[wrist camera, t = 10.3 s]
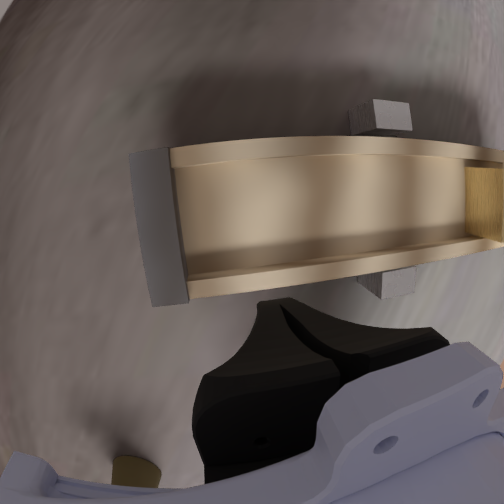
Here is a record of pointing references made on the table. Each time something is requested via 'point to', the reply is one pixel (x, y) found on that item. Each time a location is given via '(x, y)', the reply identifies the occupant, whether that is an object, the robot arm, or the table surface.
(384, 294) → the grey rectangular bar
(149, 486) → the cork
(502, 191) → the block
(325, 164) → the beam
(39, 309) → the table surface
